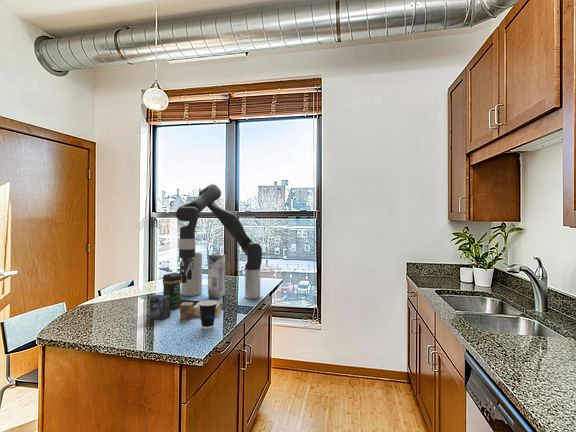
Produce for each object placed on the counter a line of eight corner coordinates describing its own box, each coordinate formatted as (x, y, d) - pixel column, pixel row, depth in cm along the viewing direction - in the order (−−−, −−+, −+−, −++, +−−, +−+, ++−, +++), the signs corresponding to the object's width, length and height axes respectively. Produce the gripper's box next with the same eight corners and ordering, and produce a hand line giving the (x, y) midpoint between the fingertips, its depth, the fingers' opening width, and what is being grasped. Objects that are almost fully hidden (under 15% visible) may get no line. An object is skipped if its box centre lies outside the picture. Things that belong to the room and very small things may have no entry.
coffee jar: (170, 311, 170) (170, 275, 170) (159, 308, 174) (159, 274, 173) (184, 306, 179) (184, 272, 179) (173, 304, 182) (173, 271, 182)
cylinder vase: (198, 296, 200) (198, 255, 200) (178, 296, 200) (178, 255, 200) (204, 291, 212) (204, 252, 212) (185, 291, 213) (185, 252, 212)
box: (149, 318, 158) (149, 297, 158) (157, 315, 163) (157, 294, 163) (162, 320, 155) (162, 298, 155) (170, 317, 161) (170, 295, 161)
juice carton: (226, 294, 205) (226, 251, 205) (221, 298, 195) (221, 253, 194) (212, 294, 206) (212, 251, 206) (206, 298, 196) (206, 253, 195)
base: (221, 309, 174) (221, 301, 174) (216, 316, 162) (216, 307, 162) (198, 308, 174) (199, 300, 174) (192, 316, 162) (192, 307, 162)
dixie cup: (208, 331, 142) (208, 306, 142) (194, 327, 146) (194, 303, 146) (220, 325, 149) (220, 301, 149) (207, 322, 153) (207, 299, 153)
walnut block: (193, 316, 162) (193, 302, 162) (190, 319, 157) (190, 305, 157) (183, 316, 162) (183, 302, 162) (179, 319, 157) (180, 305, 157)
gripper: (190, 249, 152) (190, 284, 152) (198, 246, 166) (198, 278, 166) (174, 249, 152) (174, 284, 152) (184, 246, 166) (183, 278, 166)
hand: (186, 281), depth 159 cm, fingers open, 8 cm apart
